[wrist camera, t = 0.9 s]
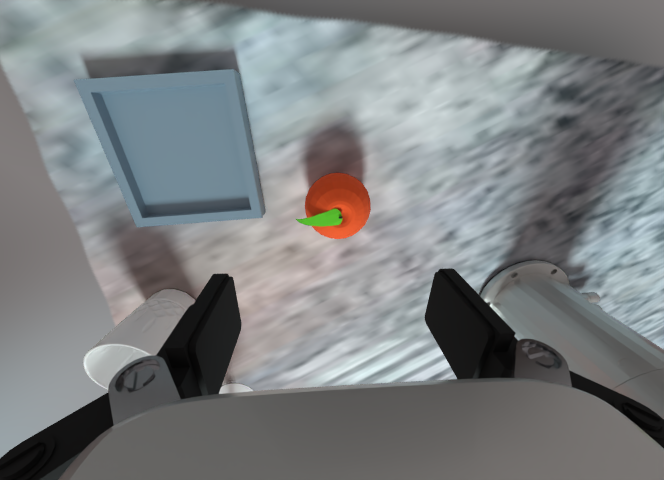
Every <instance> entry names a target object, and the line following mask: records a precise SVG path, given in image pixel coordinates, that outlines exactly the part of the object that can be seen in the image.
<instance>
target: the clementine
mask: <svg viewBox="0 0 664 480" xmlns="http://www.w3.org/2000/svg"><path fill="white" fill-rule="evenodd" d="M305 210H306V215H307V218H305V219H296V220H297V221H298V222H300V223H302V224H305V225H310V226H312V227H313V228H314V229H315V230H316V231H317V232H319V233H320V234H321V235H324V236H326V237H329V238H335V239H341V238H347V237H349V236H352V235H354V234H355V233H357V232H358V231H359V230H360V229H361V228H362V227H363V226H364V225H365V223H366V221H367V220H368V218H369V214H370V210H371V209H370V198H369V195H368V192H367V190H366V188H365V187H364V185H363V184H362V183H361V182H360V181H359V180H358V179H356V178H355V177H353V176H350V175H348V174H344V173H331V174H328V175H325V176H323V177H321V178H320V179H318V180H317V181H316V182H315V183H314V184H313V185H312V187H311V188H310V189H309V191H308V194H307V196H306V201H305Z"/></svg>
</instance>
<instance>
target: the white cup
mask: <svg viewBox="0 0 664 480" xmlns="http://www.w3.org/2000/svg"><path fill="white" fill-rule="evenodd" d="M195 301H196V300H195V299H194V298H192V297H191V296H190V295H188V294H187V293H185V292H182V291H179V290H176V289H163V290H161V291H159V292H157V293H154V294H153V295H152V296H151V297H150V298H149V299H148V300H147V301H145V302H144V303H143V304H142V305H140V306H139V307H138V308H136V309H135V310H134V311H133V312H132V313H131V314H130V315H129V316H127V317H126V318H125V319H124V320H123V321H121V322H120V323H119V324H118V325H117V326H116V327H115V328H114V329H113V330H112V331H110V332H109V333H108V334H107V335H106V336H105V337H104V338H103V339H102V340H100V341H99V342H98V343H97V344H96V345H95V346H94V347H93V348H91V349H90V350H89V351H88V352H87V354H86V355H85V357H84V360H83V365H84V369H85V371H86V373H87V374H88V376H89V377H90V378H91V379H92V380H93V381H94V382H95V383H97V384H98V385H100V386H101V387H103V388H105V389H107V390H108V387H109V383H110V382H111V380H112V378H113V377H114V376H115V374H116V373H117V372H118V371H119V370H120V369H122V368H123V367H124V366H125V365H127V364H129V363H131V362H132V361H134V360H136V359H139V358H141V357H145V356H150V355H151V356H156V355H157V353H158V352H159V350H160V349H161V347H162V346H163V344H164V343H165V341H166V340H167V338H168V337H169V335H170V334H171V332H172V331H173V329H174V328H175V326H176V325H177V323H178V322H179V320H180V319H181V317H182V316H183V315H184V313H185V312H186V310H187V309H188V307H189V306H190V305H192V304H194V303H195Z"/></svg>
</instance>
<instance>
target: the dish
mask: <svg viewBox="0 0 664 480" xmlns="http://www.w3.org/2000/svg"><path fill="white" fill-rule="evenodd" d="M74 82H75V84H76V87H77V89H78V91H79V94H80V96H81V98H82V101H83V103H84V105H85V108H86V110H87V112H88V115H89V117H90V119H91V122H92V124H93V126H94V129H95V131H96V133H97V136H98V138H99V140H100V143H101V145H102V147H103V150H104V152H105V154H106V157H107V159H108V161H109V164H110V166H111V168H112V171H113V173H114V175H115V178H116V180H117V182H118V185H119V187H120V189H121V192H122V194H123V196H124V199H125V201H126V203H127V206H128V208H129V210H130V213H131V215H132V217H133V220H134V222H135V224H136V227H147V226H160V225H173V224H186V223H199V222H212V221H225V220H238V219H251V218H262V217H263V215H264V214H265V206H264V201H263V196H262V190H261V185H260V180H259V174H258V169H257V163H256V158H255V153H254V147H253V142H252V137H251V131H250V126H249V121H248V115H247V110H246V104H245V99H244V94H243V88H242V83H241V78H240V73H238V72H237V71H235V70H234V69H227V70H212V71H197V72H182V73H167V74H152V75H138V76H123V77H108V78H93V79H78V80H74Z"/></svg>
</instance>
